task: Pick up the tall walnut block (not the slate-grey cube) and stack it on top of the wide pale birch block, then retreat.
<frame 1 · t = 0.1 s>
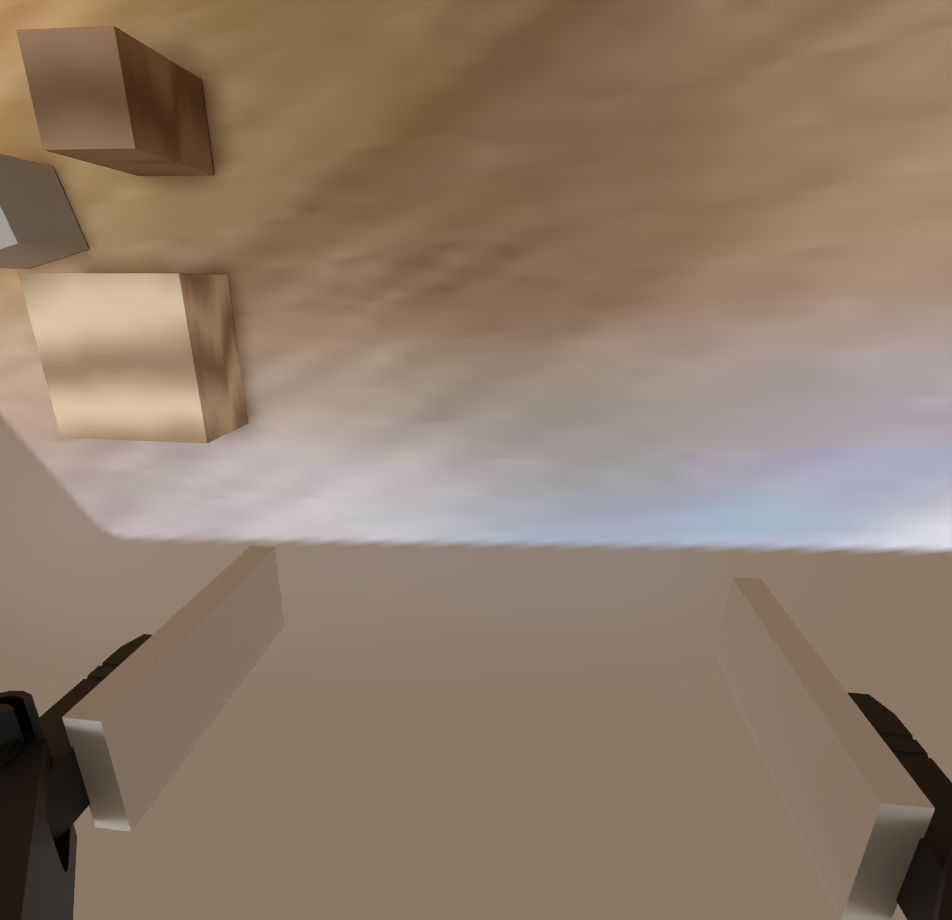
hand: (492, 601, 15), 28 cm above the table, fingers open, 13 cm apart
walnut block: (168, 128, 38), on the table
slate cube: (39, 219, 41), on the table
birch block: (170, 351, 44), on the table
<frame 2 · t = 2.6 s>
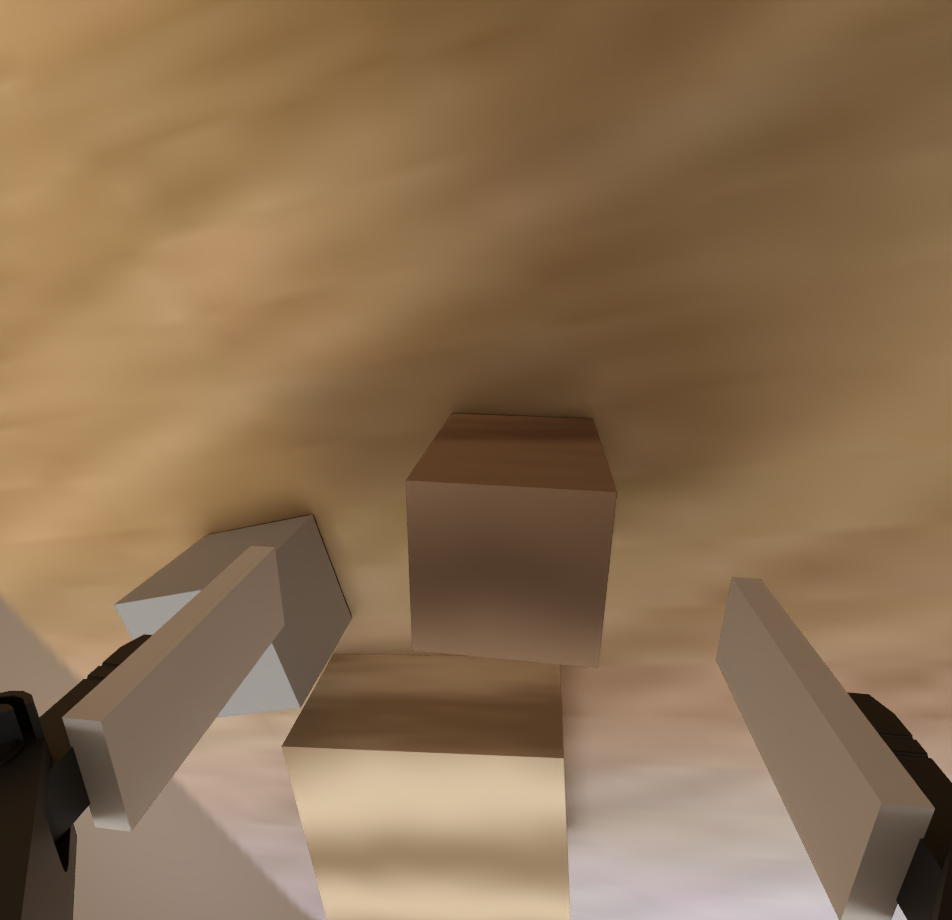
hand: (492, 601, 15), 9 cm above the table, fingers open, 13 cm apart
walnut block: (518, 481, 23), on the table
slate cube: (279, 577, 27), on the table
birch block: (454, 743, 29), on the table
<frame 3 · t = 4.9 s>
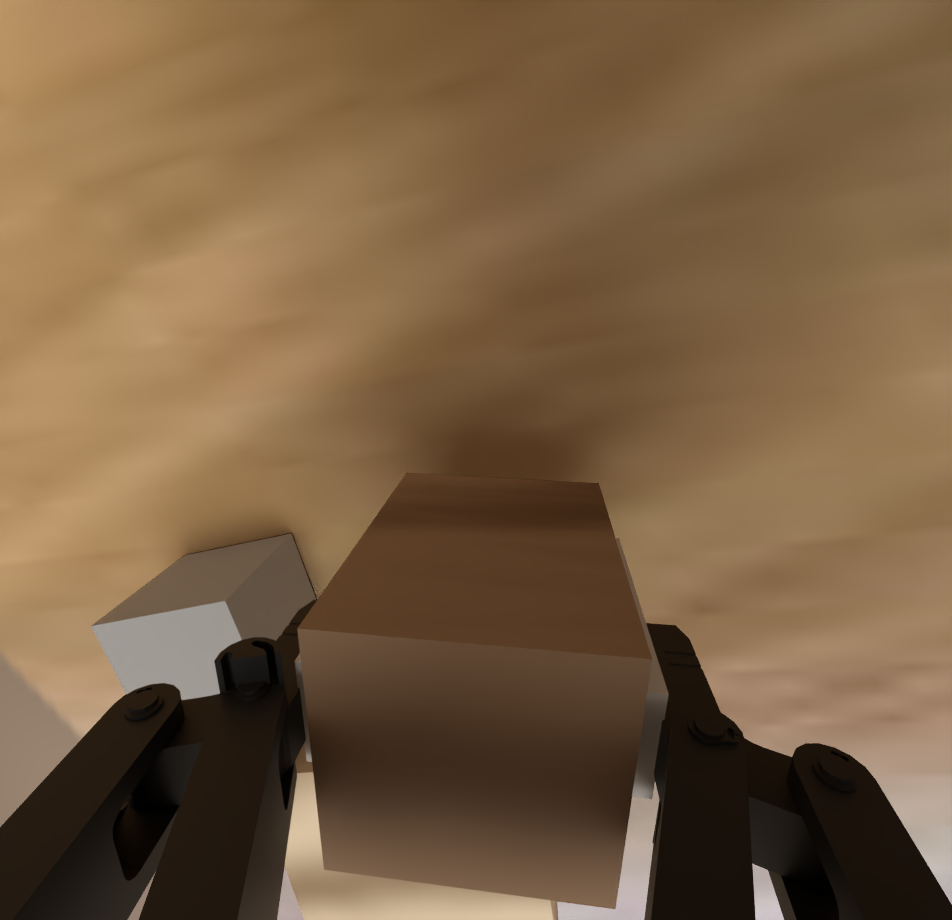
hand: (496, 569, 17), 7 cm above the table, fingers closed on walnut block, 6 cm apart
walnut block: (498, 563, 17), point 7 cm above the table, touching gripper
slate cube: (258, 596, 27), on the table
birch block: (433, 760, 29), on the table
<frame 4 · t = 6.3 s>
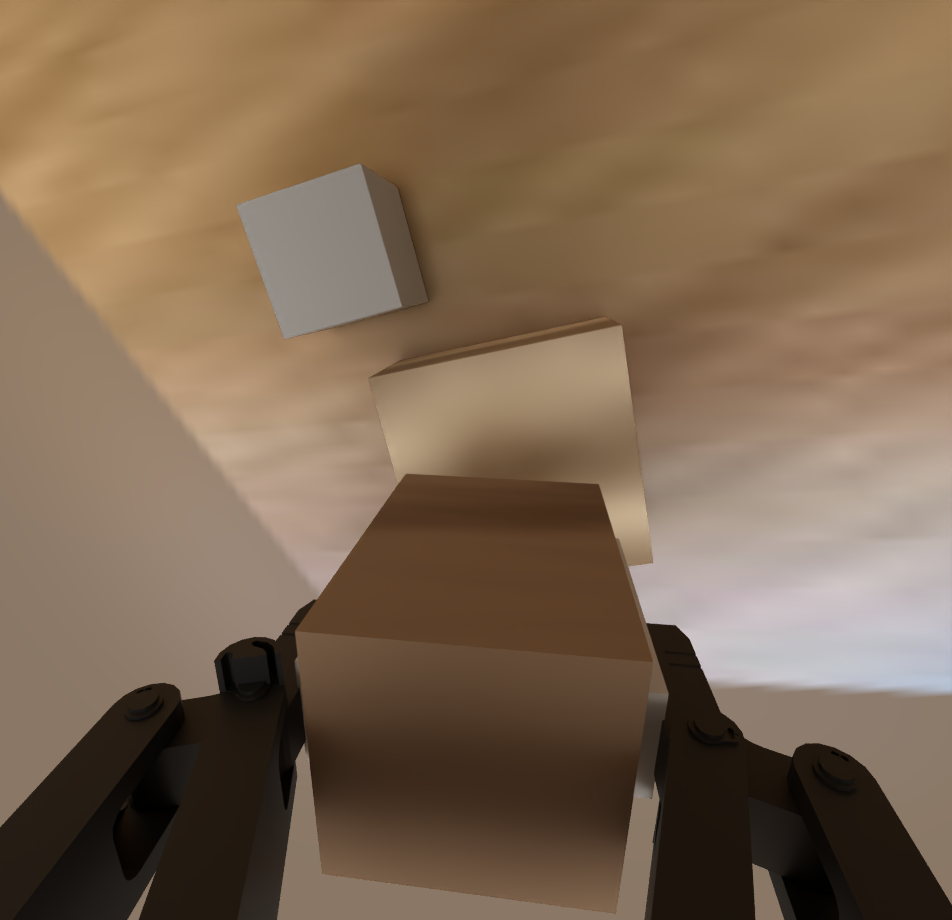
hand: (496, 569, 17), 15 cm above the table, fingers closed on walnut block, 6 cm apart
walnut block: (497, 564, 17), point 15 cm above the table, touching gripper
slate cube: (362, 261, 29), on the table
birch block: (519, 438, 32), on the table
when the fingers open (7 cm above the table, at t = 8.1 s): walnut block stays where it is, point 6 cm above the table.
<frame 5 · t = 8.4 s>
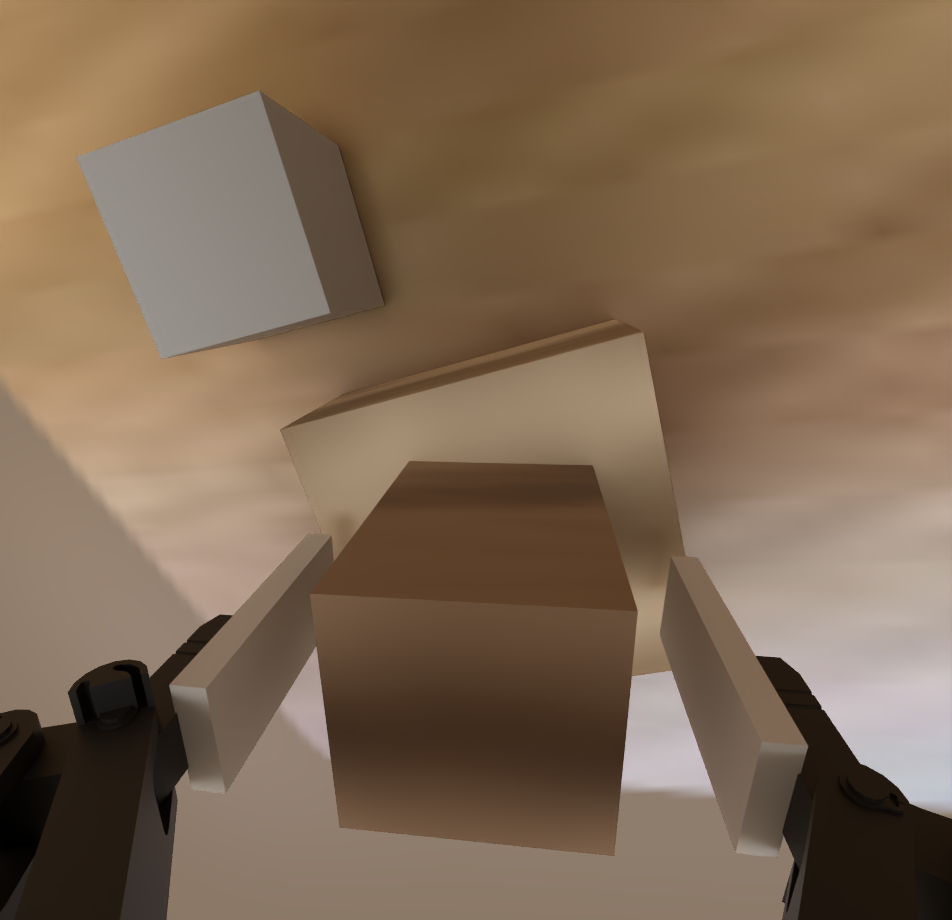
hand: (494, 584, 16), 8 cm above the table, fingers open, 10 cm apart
walnut block: (499, 545, 18), point 6 cm above the table
slate cube: (294, 249, 21), on the table
birch block: (508, 487, 24), on the table
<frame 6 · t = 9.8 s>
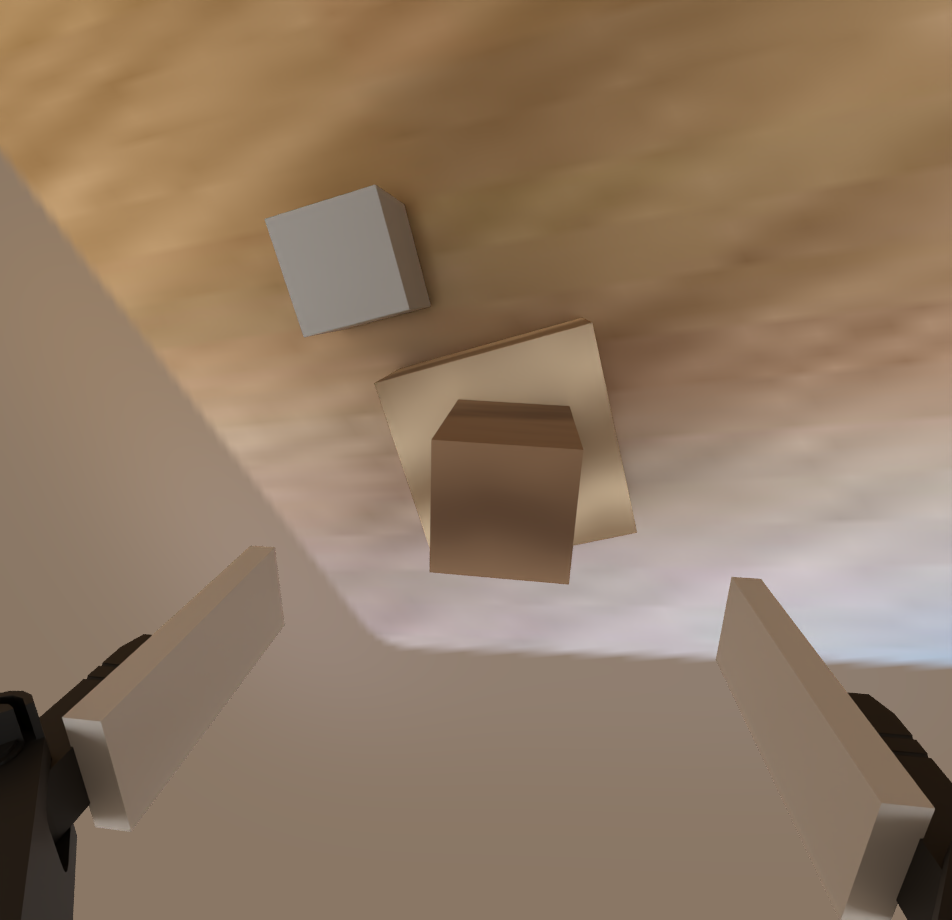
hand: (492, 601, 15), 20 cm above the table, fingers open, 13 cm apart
walnut block: (509, 455, 29), point 6 cm above the table
slate cube: (372, 269, 32), on the table
birch block: (512, 432, 35), on the table
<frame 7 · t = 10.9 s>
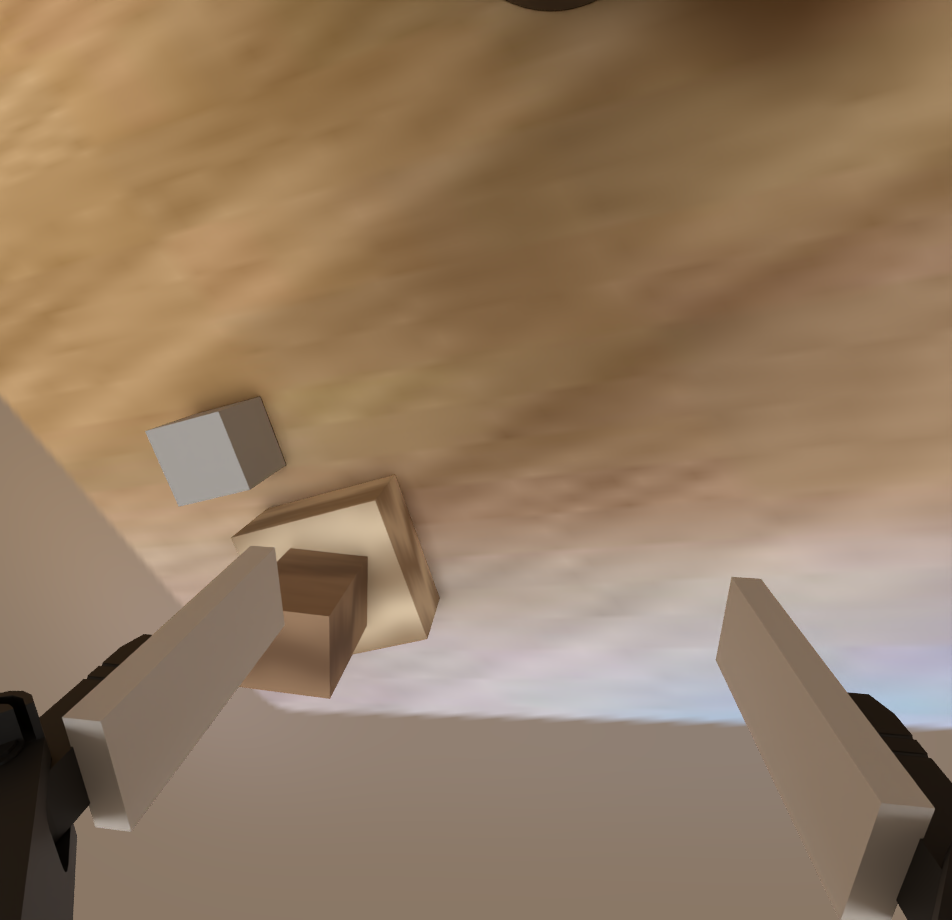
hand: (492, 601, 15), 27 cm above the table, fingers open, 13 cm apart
walnut block: (329, 587, 40), point 6 cm above the table, touching birch block
slate cube: (241, 439, 44), on the table
birch block: (354, 553, 46), on the table, touching walnut block
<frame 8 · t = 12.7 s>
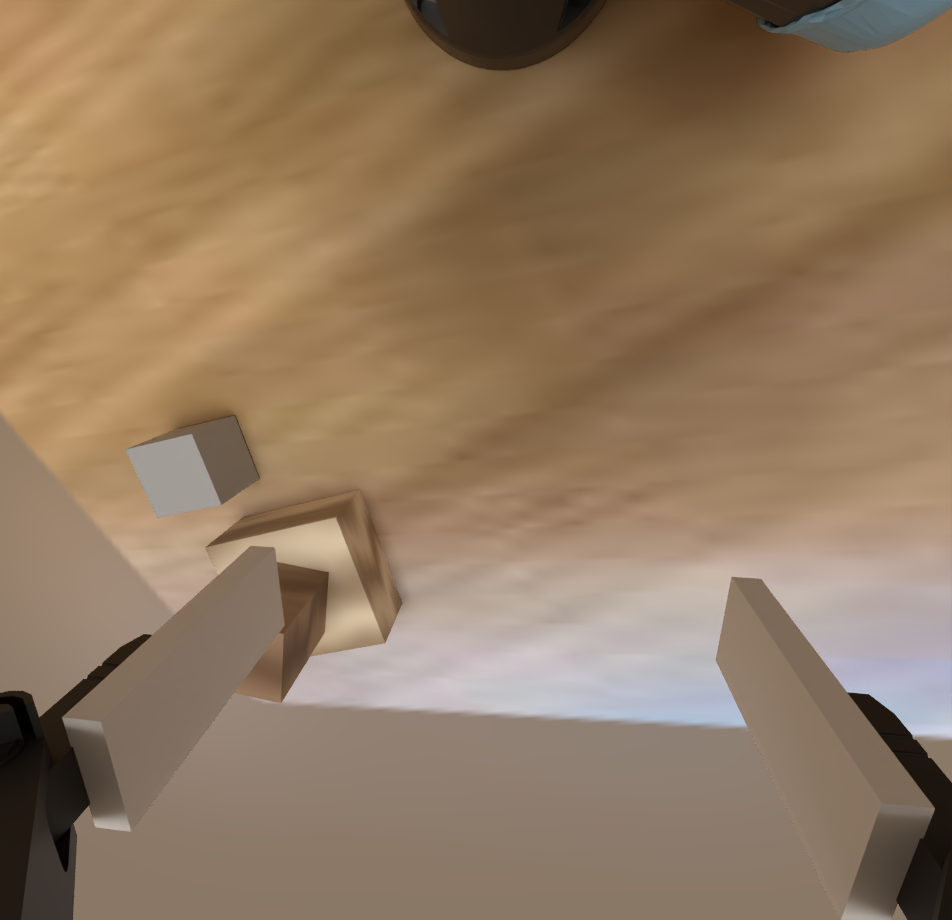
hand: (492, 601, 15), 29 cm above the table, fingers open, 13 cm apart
walnut block: (292, 596, 44), point 6 cm above the table
slate cube: (217, 454, 47), on the table
birch block: (323, 560, 50), on the table
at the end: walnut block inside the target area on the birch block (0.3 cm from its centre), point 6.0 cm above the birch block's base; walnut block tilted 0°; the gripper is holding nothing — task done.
